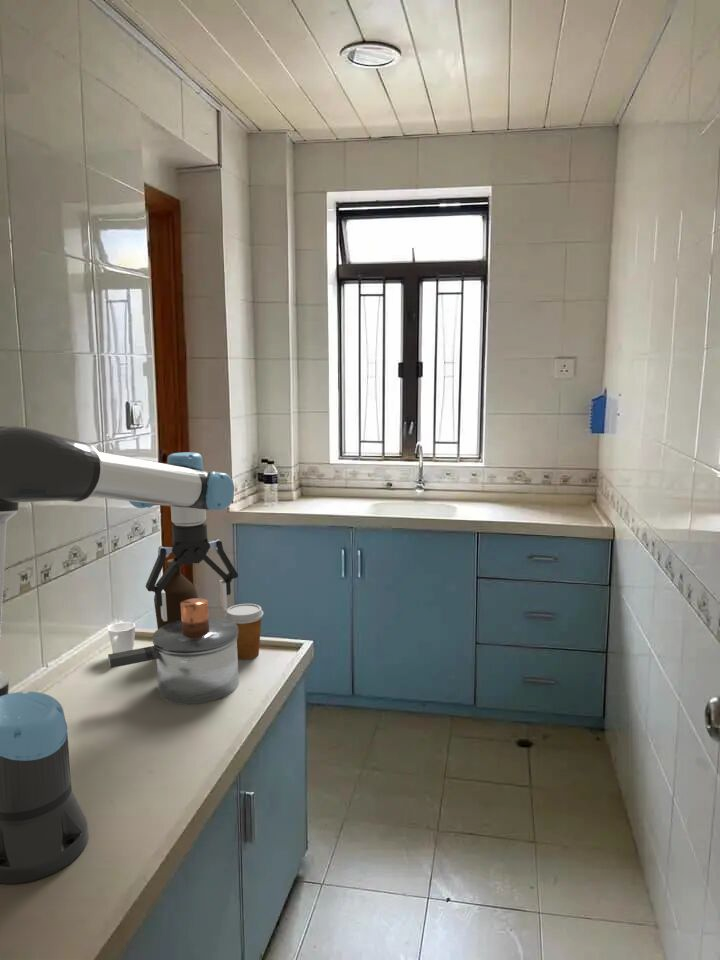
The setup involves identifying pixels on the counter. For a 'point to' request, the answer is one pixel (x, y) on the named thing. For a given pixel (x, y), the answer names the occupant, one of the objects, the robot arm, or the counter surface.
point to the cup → (122, 636)
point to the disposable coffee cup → (246, 628)
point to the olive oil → (175, 597)
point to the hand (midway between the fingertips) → (194, 614)
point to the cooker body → (188, 672)
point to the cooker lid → (195, 630)
